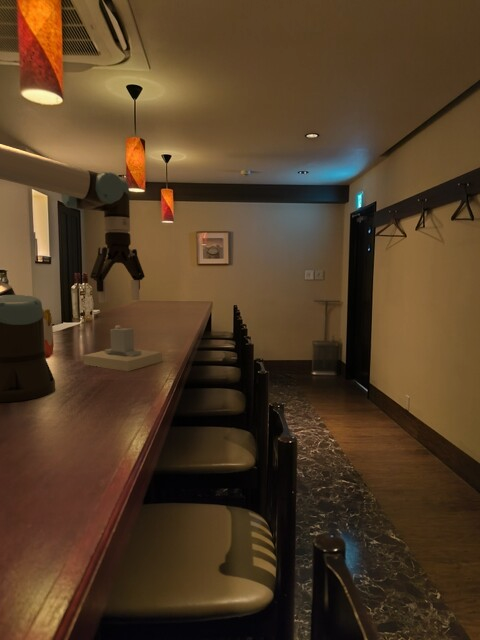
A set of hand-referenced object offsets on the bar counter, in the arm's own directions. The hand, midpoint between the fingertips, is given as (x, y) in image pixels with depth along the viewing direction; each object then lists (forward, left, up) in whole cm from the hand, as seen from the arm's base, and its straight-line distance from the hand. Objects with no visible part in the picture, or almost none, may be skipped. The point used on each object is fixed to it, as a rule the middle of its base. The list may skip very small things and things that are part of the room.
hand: (119, 301), depth 132 cm
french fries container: (-4, +33, -20) cm, 39 cm away
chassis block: (0, 0, -20) cm, 20 cm away
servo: (0, 0, -20) cm, 20 cm away
